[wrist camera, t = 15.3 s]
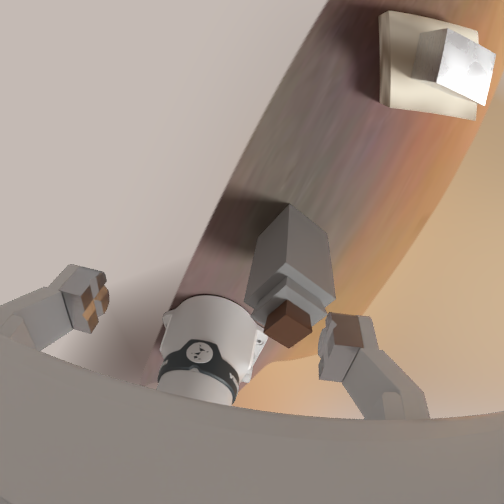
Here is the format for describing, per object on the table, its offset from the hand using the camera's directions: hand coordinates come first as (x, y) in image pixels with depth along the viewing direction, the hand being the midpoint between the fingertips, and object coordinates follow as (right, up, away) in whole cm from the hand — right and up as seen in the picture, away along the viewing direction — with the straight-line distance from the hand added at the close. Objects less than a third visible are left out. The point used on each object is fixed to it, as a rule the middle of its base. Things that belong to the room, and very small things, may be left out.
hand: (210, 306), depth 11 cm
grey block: (+21, +22, +14) cm, 33 cm away
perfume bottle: (+7, +4, +33) cm, 34 cm away
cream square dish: (+22, +24, +19) cm, 37 cm away
